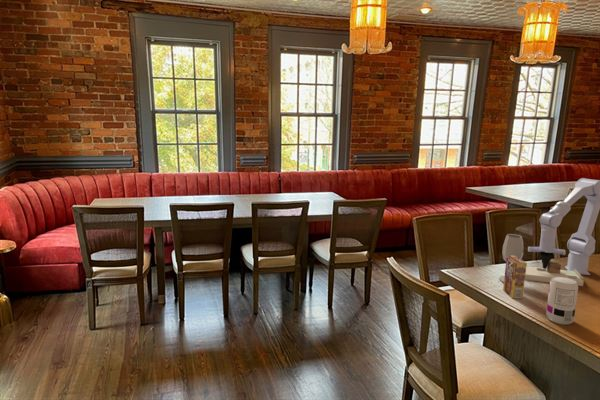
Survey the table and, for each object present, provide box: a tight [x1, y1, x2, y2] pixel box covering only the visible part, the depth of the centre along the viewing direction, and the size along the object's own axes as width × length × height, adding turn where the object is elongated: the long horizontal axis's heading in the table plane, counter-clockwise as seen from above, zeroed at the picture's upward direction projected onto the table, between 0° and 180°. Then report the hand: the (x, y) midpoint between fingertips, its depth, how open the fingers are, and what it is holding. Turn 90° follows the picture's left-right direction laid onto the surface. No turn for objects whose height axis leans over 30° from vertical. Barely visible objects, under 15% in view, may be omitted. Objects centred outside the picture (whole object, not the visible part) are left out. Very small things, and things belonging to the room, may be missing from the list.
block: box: [547, 261, 562, 274], centre depth 179 cm, size 4×4×4 cm
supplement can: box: [545, 276, 579, 326], centre depth 138 cm, size 8×8×15 cm
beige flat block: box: [525, 266, 585, 287], centre depth 178 cm, size 12×23×4 cm, turn 70°
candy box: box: [502, 256, 528, 300], centre depth 160 cm, size 9×4×15 cm, turn 176°
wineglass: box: [498, 233, 525, 284], centre depth 173 cm, size 9×9×21 cm
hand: (544, 267), depth 181 cm, fingers closed
